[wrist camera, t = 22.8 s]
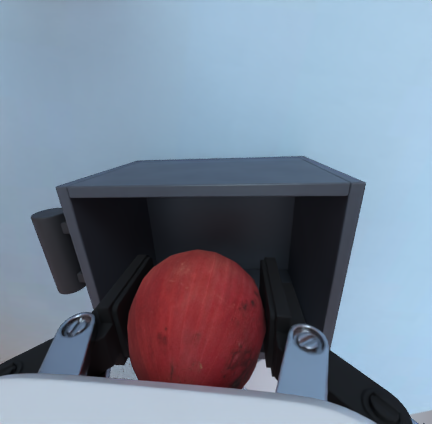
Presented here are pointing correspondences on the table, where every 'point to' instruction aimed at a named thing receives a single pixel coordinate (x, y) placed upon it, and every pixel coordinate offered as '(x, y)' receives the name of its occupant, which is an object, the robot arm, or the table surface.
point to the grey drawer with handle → (209, 224)
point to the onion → (196, 322)
